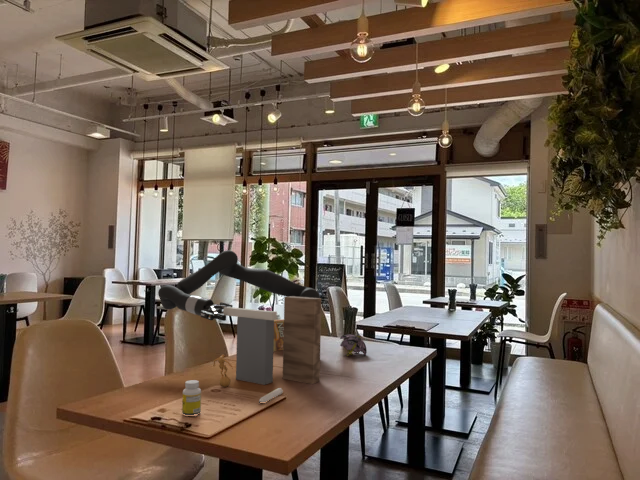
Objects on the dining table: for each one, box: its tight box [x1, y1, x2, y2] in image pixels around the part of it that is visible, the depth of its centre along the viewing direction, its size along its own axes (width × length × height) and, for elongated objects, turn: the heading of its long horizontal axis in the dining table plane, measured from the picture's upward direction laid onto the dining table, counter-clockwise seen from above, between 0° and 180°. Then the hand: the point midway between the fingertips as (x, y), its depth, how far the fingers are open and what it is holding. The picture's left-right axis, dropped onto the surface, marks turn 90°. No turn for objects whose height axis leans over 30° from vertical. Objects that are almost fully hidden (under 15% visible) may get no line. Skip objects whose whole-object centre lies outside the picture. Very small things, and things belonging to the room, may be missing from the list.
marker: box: [258, 387, 284, 403], centre depth 163 cm, size 3×2×16 cm
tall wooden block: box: [282, 296, 322, 385], centre depth 190 cm, size 5×14×32 cm, turn 59°
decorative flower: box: [339, 333, 368, 357], centre depth 239 cm, size 15×12×15 cm
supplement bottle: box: [181, 379, 202, 415], centre depth 146 cm, size 5×5×10 cm
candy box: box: [273, 318, 284, 352], centre depth 250 cm, size 9×4×15 cm, turn 129°
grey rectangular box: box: [235, 317, 274, 386], centre depth 188 cm, size 5×14×24 cm, turn 59°
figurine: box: [213, 354, 234, 388], centre depth 177 cm, size 8×6×12 cm
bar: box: [223, 306, 278, 320], centre depth 190 cm, size 3×24×3 cm, turn 59°
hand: (232, 315), depth 196 cm, fingers open, 8 cm apart
